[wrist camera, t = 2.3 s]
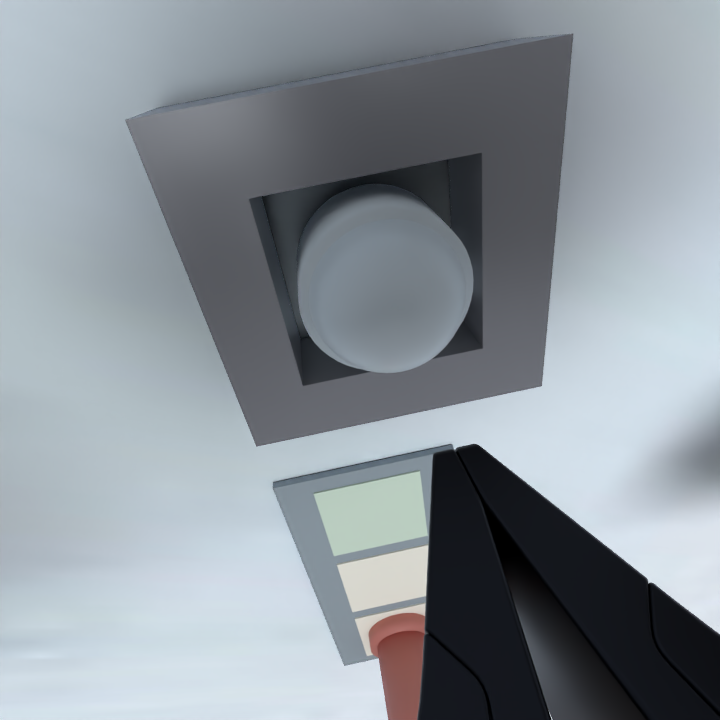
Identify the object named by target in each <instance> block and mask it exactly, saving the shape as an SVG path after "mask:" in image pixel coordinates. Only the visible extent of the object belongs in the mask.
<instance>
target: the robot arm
mask: <svg viewBox="0 0 720 720" xmlns="http://www.w3.org/2000/svg"><path fill="white" fill-rule="evenodd" d="M424 631H425V635H424V641H423V662H422V675H421V687H420V700H419V708H418V716H417V720H551V717H552V719H553V720H720V634H719V633H717V632H716V631H714V630H713V629H712V628H710V627H709V626H708V625H707V624H705V623H704V622H703V621H701V620H700V619H699V618H697V617H696V616H695V615H693V614H692V613H691V612H689V611H688V610H687V609H685V608H684V607H683V606H682V605H680V604H679V603H678V602H676V601H675V600H674V599H673V598H671V597H670V596H669V595H667V594H666V593H665V592H664V591H662V590H661V589H660V588H659V587H657V586H656V585H655V584H654V583H649V584H648V579H647V578H646V577H645V576H643V575H642V574H641V573H639V572H638V571H637V570H636V569H634V568H633V567H632V566H631V565H629V564H628V563H627V562H626V561H624V560H623V559H622V558H621V557H619V556H618V555H617V554H616V553H614V552H613V551H612V550H610V549H609V548H608V547H607V546H605V545H604V544H603V543H602V542H600V541H599V540H598V539H597V538H595V537H594V536H593V535H592V534H590V533H589V532H588V531H586V530H585V529H584V528H583V527H581V526H580V525H579V524H578V523H576V522H575V521H574V520H573V519H571V518H570V517H569V516H568V515H566V514H565V513H564V512H562V511H561V510H560V509H559V508H557V507H556V506H555V505H554V504H552V503H551V502H550V501H549V500H547V499H546V498H545V497H544V496H542V495H541V494H540V493H539V492H537V491H536V490H535V489H533V488H532V487H531V486H530V485H528V484H527V483H526V482H525V481H523V480H522V479H521V478H520V477H518V476H517V475H516V474H515V473H513V472H512V471H511V470H509V469H508V468H507V467H506V466H504V465H503V464H502V463H501V462H499V461H498V460H497V459H496V458H494V457H493V456H492V455H491V454H489V453H488V452H487V451H485V450H484V449H483V448H482V447H480V446H479V445H477V444H471V445H466V446H462V447H458V448H456V450H453V449H448V450H443V451H439V452H435V453H434V454H433V459H432V479H431V500H430V521H429V542H428V563H427V584H426V605H425V626H424ZM548 710H549V711H548ZM549 712H550V714H549ZM550 715H551V717H550Z"/></svg>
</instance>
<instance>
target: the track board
mask: <svg viewBox="0 0 720 720" xmlns="http://www.w3.org/2000/svg"><path fill="white" fill-rule="evenodd" d="M448 449H453V446H452V445H447V446H442V447H438V448H433V449H428V450H424V451H419V452H414V453H410V454H405V455H400V456H396V457H391V458H386V459H382V460H377V461H372V462H368V463H363V464H358V465H354V466H349V467H344V468H340V469H335V470H330V471H326V472H321V473H316V474H312V475H307V476H302V477H298V478H293V479H288V480H284V481H279V482H274V483H273V490H274V492H275V495H276V497H277V500H278V502H279V505H280V507H281V510H282V512H283V515H284V517H285V520H286V522H287V525H288V527H289V529H290V532H291V534H292V537H293V539H294V542H295V544H296V547H297V549H298V552H299V554H300V557H301V559H302V562H303V564H304V567H305V569H306V572H307V574H308V577H309V579H310V582H311V584H312V587H313V589H314V592H315V594H316V597H317V599H318V601H319V604H320V606H321V609H322V611H323V614H324V616H325V619H326V621H327V624H328V626H329V629H330V631H331V634H332V636H333V639H334V641H335V644H336V646H337V649H338V651H339V654H340V656H341V659H342V661H343V664H344V666H346V665H350V664H355V663H359V662H364V661H368V660H372V659H377V658H378V657H376V656H374V655H373V654H372V652H371V649H370V642H369V631H370V629H371V628H372V626H373V625H374V624H376V623H377V622H378V621H380V620H382V619H384V618H386V617H389V616H392V615H396V614H401V613H417V614H421V615H423V616H425V605H426V584H427V563H428V542H429V521H430V500H431V479H432V459H433V454H434V453H435V452H439V451H443V450H448ZM453 450H454V449H453Z"/></svg>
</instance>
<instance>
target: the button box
mask: <svg viewBox="0 0 720 720" xmlns="http://www.w3.org/2000/svg"><path fill="white" fill-rule="evenodd" d="M572 42H573V34H564V35H553V36H542V37H531V38H520V39H514V40H508V41H503V42H498V43H493V44H488V45H482V46H477V47H472V48H467V49H462V50H456V51H451V52H446V53H441V54H436V55H430V56H425V57H420V58H415V59H410V60H405V61H399V62H394V63H389V64H384V65H379V66H373V67H368V68H363V69H358V70H353V71H347V72H342V73H337V74H332V75H327V76H321V77H316V78H311V79H306V80H301V81H295V82H290V83H285V84H280V85H275V86H269V87H264V88H259V89H254V90H249V91H244V92H238V93H233V94H228V95H223V96H218V97H212V98H207V99H202V100H197V101H192V102H186V103H181V104H176V105H171V106H166V107H160V108H156V109H153V110H151V111H148V112H146V113H143V114H140V115H138V116H135V117H132V118H130V119H127V120H126V123H127V125H128V128H129V130H130V133H131V135H132V138H133V140H134V143H135V145H136V148H137V150H138V153H139V155H140V158H141V160H142V163H143V165H144V168H145V170H146V173H147V175H148V178H149V180H150V183H151V185H152V188H153V190H154V193H155V195H156V198H157V200H158V203H159V205H160V208H161V210H162V213H163V215H164V217H165V220H166V222H167V225H168V227H169V230H170V232H171V235H172V237H173V240H174V242H175V245H176V247H177V250H178V252H179V255H180V257H181V260H182V262H183V265H184V267H185V270H186V272H187V275H188V277H189V280H190V282H191V285H192V287H193V290H194V292H195V295H196V297H197V300H198V302H199V305H200V307H201V310H202V312H203V315H204V317H205V319H206V322H207V324H208V327H209V329H210V332H211V334H212V337H213V339H214V342H215V344H216V347H217V349H218V352H219V354H220V357H221V359H222V362H223V364H224V367H225V369H226V372H227V374H228V377H229V379H230V382H231V384H232V387H233V389H234V392H235V394H236V397H237V399H238V402H239V404H240V407H241V409H242V412H243V414H244V417H245V419H246V421H247V424H248V426H249V429H250V431H251V434H252V436H253V439H254V441H255V444H256V446H261V445H266V444H271V443H276V442H280V441H285V440H290V439H294V438H299V437H304V436H309V435H313V434H318V433H323V432H327V431H332V430H337V429H342V428H346V427H351V426H356V425H360V424H365V423H370V422H375V421H379V420H384V419H389V418H394V417H398V416H403V415H408V414H412V413H417V412H422V411H427V410H431V409H436V408H441V407H445V406H450V405H455V404H460V403H464V402H469V401H474V400H478V399H483V398H488V397H493V396H497V395H502V394H507V393H511V392H516V391H521V390H526V389H530V388H535V387H540V386H542V378H543V366H544V355H545V344H546V333H547V322H548V311H549V299H550V288H551V277H552V266H553V255H554V243H555V232H556V221H557V210H558V199H559V187H560V176H561V165H562V154H563V143H564V131H565V120H566V109H567V98H568V87H569V75H570V64H571V53H572ZM447 159H448V163H449V186H450V209H451V230H452V231H453V232H454V233H455V234H456V235H457V236H458V238H459V239H460V240H461V242H462V243H463V245H464V247H465V248H466V250H467V253H468V255H469V258H470V261H471V265H472V269H473V293H472V298H471V302H470V306H469V309H468V311H467V314H466V316H465V318H464V320H463V322H462V323H461V325H460V326H459V328H458V330H457V331H456V333H455V335H454V336H453V338H452V339H451V341H450V342H449V343H448V344H447V346H446V347H445V348H444V349H443V350H442V351H441V352H440V353H439V354H437V355H436V356H435V357H434V358H432V359H431V360H429V361H428V362H426V363H424V364H422V365H420V366H418V367H416V368H413V369H410V370H407V371H403V372H397V373H377V372H371V371H366V370H363V369H357V368H354V367H351V366H347V365H345V364H343V363H340V362H338V361H336V360H335V359H333V358H331V357H330V356H328V355H327V354H326V353H325V352H323V351H322V350H321V349H320V348H319V347H318V346H317V345H316V344H315V343H314V341H313V340H312V338H311V337H308V338H303V339H300V335H299V332H298V328H297V324H296V321H295V317H294V313H293V310H292V306H291V303H290V299H289V295H288V292H287V288H286V284H285V281H284V277H283V273H282V270H281V266H280V262H279V259H278V255H277V251H276V248H275V244H274V240H273V237H272V233H271V229H270V226H269V222H268V218H267V215H266V211H265V207H264V204H263V200H262V196H265V195H270V194H275V193H281V192H286V191H291V190H296V189H301V188H306V187H311V186H316V185H321V184H326V183H331V182H336V181H341V180H346V179H351V178H356V177H361V176H366V175H371V174H376V173H381V172H386V171H391V170H396V169H401V168H407V167H412V166H417V165H422V164H427V163H432V162H437V161H442V160H447Z"/></svg>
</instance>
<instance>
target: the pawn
mask: <svg viewBox="0 0 720 720" xmlns="http://www.w3.org/2000/svg"><path fill="white" fill-rule="evenodd" d="M424 626H425V616H423V615H421V614H417V613H401V614H396V615H392V616H389V617H386V618H384V619H382V620H380V621H378V622H377V623H376V624H374V625H373V626H372V628H371V629H370V631H369V642H370V649H371V652H372V654H373V655H374V656H376V657H378V658H379V663H380V669H381V676H382V682H383V688H384V695H385V701H386V708H387V714H388V720H417V716H418V708H419V700H420V687H421V675H422V662H423V641H424V635H425V631H424Z"/></svg>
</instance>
